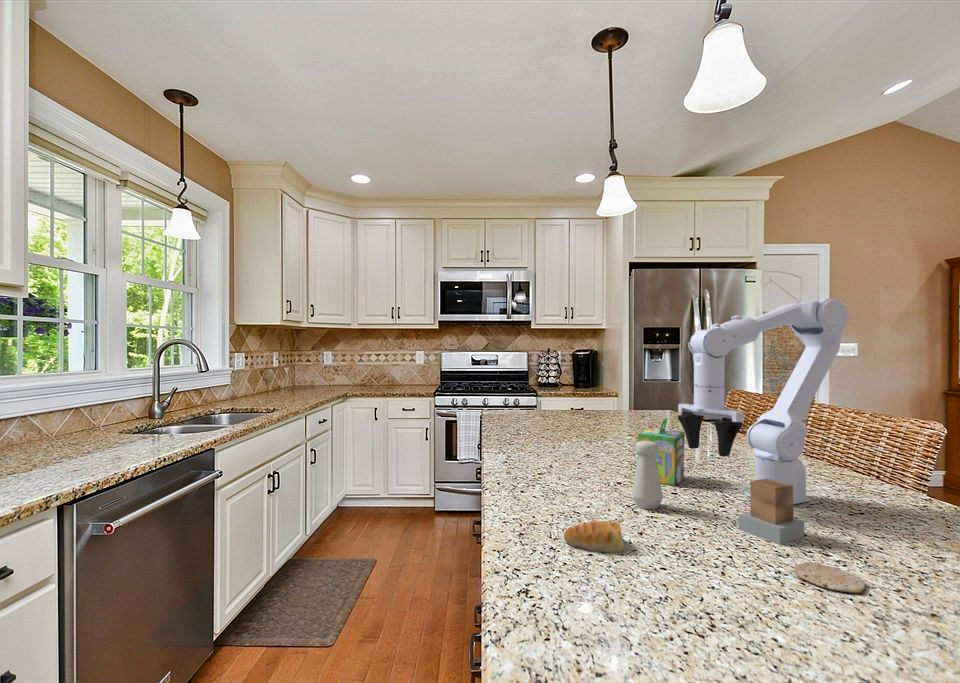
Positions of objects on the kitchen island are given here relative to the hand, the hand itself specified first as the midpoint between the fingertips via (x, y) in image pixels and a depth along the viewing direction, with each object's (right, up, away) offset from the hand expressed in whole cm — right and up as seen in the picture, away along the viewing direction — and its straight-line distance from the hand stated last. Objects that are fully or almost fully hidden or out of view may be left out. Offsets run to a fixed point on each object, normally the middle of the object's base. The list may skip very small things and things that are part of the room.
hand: (708, 451), depth 96 cm
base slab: (+3, -11, -16) cm, 20 cm away
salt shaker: (-14, -11, -3) cm, 18 cm away
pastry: (-28, -11, -21) cm, 37 cm away
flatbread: (+1, -10, -32) cm, 34 cm away
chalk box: (-3, -11, +17) cm, 20 cm away
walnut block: (+3, -8, -16) cm, 18 cm away
